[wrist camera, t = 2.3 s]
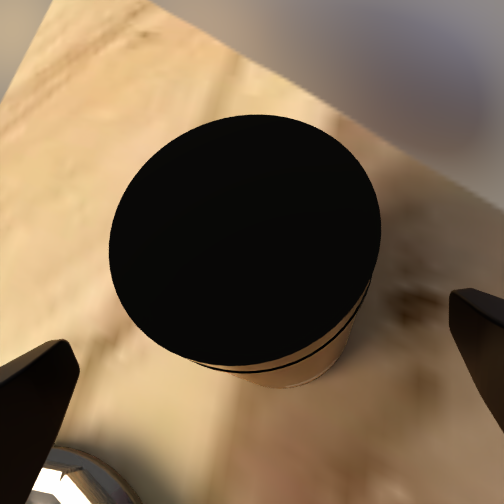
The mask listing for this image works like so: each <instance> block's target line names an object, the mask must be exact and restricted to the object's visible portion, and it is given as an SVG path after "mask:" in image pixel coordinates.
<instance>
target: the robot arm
mask: <svg viewBox="0 0 504 504" xmlns="http://www.w3.org/2000/svg"><path fill="white" fill-rule="evenodd" d="M449 328H450V332H451V334H452V336H453V339H454V341H455V343H456V345H457V347H458V349H459V351H460V353H461V356H462V358H463V360H464V362H465V364H466V366H467V368H468V370H469V373H470V375H471V377H472V379H473V381H474V383H475V385H476V387H477V389H478V391H479V393H480V395H481V397H482V398H483V400H484V402H485V404H486V405H487V407H488V408H489V410H490V412H491V413H492V415H493V416H494V418H495V420H496V421H497V423H498V425H499V426H500V428H501V429H502V431H503V433H504V299H502V298H499V297H496V296H493V295H490V294H487V293H484V292H481V291H479V290H476V289H473V288H465V289H458V290H453V291H451V293H450V296H449ZM79 373H80V368H79V364H78V362H77V359H76V357H75V355H74V353H73V350H72V348H71V346H70V344H69V342H68V341H67V340H65V339H59V340H51V341H48V342H45V343H44V344H42V345H40V346H38V347H36V348H34V349H33V350H31V351H29V352H27V353H25V354H23V355H22V356H20V357H18V358H16V359H14V360H12V361H10V362H9V363H7V364H5V365H3V366H1V367H0V504H26V502H27V500H28V498H29V495H30V493H31V491H32V489H33V487H34V485H35V483H36V481H37V478H38V476H39V474H40V472H41V470H42V468H43V466H44V463H45V461H46V459H47V457H48V455H49V453H50V451H51V448H52V446H53V444H54V442H55V440H56V437H57V435H58V433H59V430H60V428H61V425H62V422H63V420H64V417H65V414H66V411H67V408H68V406H69V403H70V400H71V397H72V394H73V392H74V389H75V386H76V383H77V380H78V378H79Z"/></svg>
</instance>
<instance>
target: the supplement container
mask: <svg viewBox="0 0 504 504" xmlns="http://www.w3.org/2000/svg"><path fill="white" fill-rule="evenodd" d="M380 240H381V218H380V210H379V205H378V201H377V197H376V194H375V191H374V189H373V186H372V183H371V181H370V180H369V178H368V176H367V174H366V172H365V170H364V169H363V167H362V166H361V165H360V163H359V162H358V160H357V159H356V158H355V157H354V156H353V155H352V153H351V152H350V151H349V150H348V149H346V148H345V147H344V146H343V145H342V144H341V143H340V142H338V141H337V140H336V139H334V138H333V137H332V136H330V135H328V134H327V133H325V132H323V131H322V130H320V129H318V128H316V127H314V126H311V125H309V124H306V123H304V122H301V121H298V120H294V119H290V118H286V117H280V116H274V115H242V116H234V117H228V118H224V119H220V120H216V121H212V122H209V123H207V124H204V125H201V126H199V127H196V128H194V129H192V130H190V131H188V132H186V133H184V134H182V135H180V136H179V137H177V138H176V139H174V140H172V141H171V142H169V143H168V144H167V145H165V146H164V147H163V148H161V149H160V150H159V151H158V152H157V153H156V154H154V155H153V156H152V157H151V158H150V159H149V160H148V161H147V162H146V163H145V164H144V165H143V166H142V168H141V169H140V170H139V171H138V173H137V174H136V175H135V176H134V178H133V179H132V181H131V182H130V184H129V185H128V187H127V189H126V190H125V192H124V194H123V196H122V198H121V200H120V202H119V205H118V207H117V210H116V213H115V216H114V219H113V223H112V227H111V232H110V240H109V264H110V271H111V276H112V281H113V284H114V287H115V290H116V293H117V295H118V297H119V299H120V302H121V304H122V306H123V307H124V309H125V310H126V312H127V314H128V315H129V317H130V318H131V319H132V320H133V322H134V323H135V324H136V325H137V327H138V328H140V329H141V330H142V331H143V332H144V333H145V334H146V335H147V336H148V337H149V338H150V339H152V340H153V341H154V342H156V343H157V344H158V345H160V346H162V347H163V348H165V349H167V350H168V351H170V352H172V353H175V354H177V355H179V356H181V357H184V358H186V359H188V360H190V361H192V362H194V363H197V364H199V365H201V366H204V367H207V368H210V369H213V370H216V371H221V372H226V373H229V374H231V375H234V376H236V377H239V378H241V379H244V380H247V381H249V382H252V383H254V384H257V385H260V386H263V387H269V388H277V389H282V388H293V387H297V386H301V385H304V384H307V383H309V382H311V381H313V380H315V379H317V378H318V377H320V376H321V375H323V374H324V373H325V372H326V371H328V370H329V369H330V368H331V367H332V366H333V365H334V363H335V362H336V361H337V360H338V358H339V357H340V355H341V353H342V352H343V350H344V348H345V346H346V343H347V340H348V337H349V334H350V332H351V329H352V326H353V323H354V320H355V317H356V314H357V312H358V311H359V309H360V307H361V305H362V303H363V301H364V299H365V296H366V294H367V291H368V288H369V285H370V282H371V278H372V274H373V270H374V268H375V265H376V262H377V257H378V253H379V249H380Z"/></svg>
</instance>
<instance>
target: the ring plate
mask: <svg viewBox="0 0 504 504" xmlns="http://www.w3.org/2000/svg"><path fill="white" fill-rule="evenodd" d="M26 504H143V503H142V502H141V500H140V498H139V497H138V495H137V494H136V493H135V491H134V490H133V489H132V488H131V486H130V485H129V484H128V483H127V481H126V480H125V479H124V478H123V477H122V476H120V475H119V474H118V473H117V472H116V471H115V470H114V469H113V468H112V467H110V466H109V465H107V464H106V463H104V462H103V461H101V460H100V459H98V458H96V457H94V456H92V455H90V454H87V453H85V452H83V451H79V450H75V449H71V448H68V447H57V446H52V448H51V451H50V453H49V455H48V457H47V459H46V461H45V463H44V466H43V468H42V470H41V472H40V474H39V476H38V478H37V481H36V483H35V485H34V487H33V489H32V491H31V493H30V495H29V498H28V500H27V502H26Z"/></svg>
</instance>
